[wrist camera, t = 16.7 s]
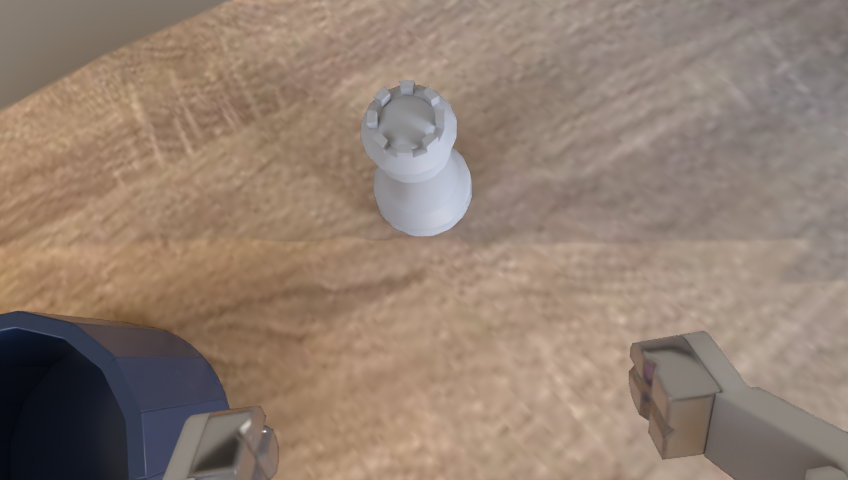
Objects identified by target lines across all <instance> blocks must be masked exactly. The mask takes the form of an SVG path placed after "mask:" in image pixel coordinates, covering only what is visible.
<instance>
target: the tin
mask: <svg viewBox="0 0 848 480" xmlns="http://www.w3.org/2000/svg"><path fill="white" fill-rule="evenodd" d="M222 410H229V406H228V402H227V399H226V396H225V392H224V390H223V388H222V385H221V383H220V381H219V379H218V377H217V375H216V373H215V372H214V370H213V369H212V367H211V365H210V364H209V363H208V362H207V361H206V359H205V358H204V357H203V356H202V355H201V354H200V353H199V352H198V351H197V350H196V349H195V348H194V347H193V346H191V345H190V344H189V343H187V342H186V341H184V340H183V339H181V338H180V337H178V336H176V335H173V334H171V333H169V332H167V331H164V330H161V329H157V328H154V327H148V326H142V325H137V324H133V323H128V322H119V321H110V320H101V319H92V318H83V317H74V316H64V315H55V314H46V313H37V312H28V311H15V312H10V313H5V314H0V480H162V479H163V477H164V474H165V472H166V469H167V467H168V464H169V462H170V459H171V456H172V454H173V451H174V449H175V446H176V444H177V441H178V439H179V436H180V434H181V431H182V429H183V426H184V424H185V422H186V420H187V419H188V418H189V417H190V416H191V415H196V414H204V413H211V412H215V411H222Z"/></svg>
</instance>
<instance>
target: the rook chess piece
mask: <svg viewBox="0 0 848 480" xmlns="http://www.w3.org/2000/svg"><path fill="white" fill-rule="evenodd" d="M399 83H400V86H398V87H395V88H393V89H390V90H387V89H386V87H384V88H383V89H382V90H380V91H379V92H378V93H377V94H376V95H375V96H374V98H375V100H374V101H373V102H372V103H371V104H370V105H369V107H368V109H367V111H366V113H365V115H364V117H363V119H362V124H361V140H362V143H363V145H364V148H365V151H366V153H367V155H368V156H369V157H370V158H371V159H372V160H373V161H374V162H375V163H376V164H377V165H378V167H377V169H376V171H375V174H374V195H375V199H376V202H377V204H378V207H379V209H380V212H381V215H382V216H383V217H384V218H385V219H386V220H387V221H388V222H389V223H390V224H391V225H392V226H393V227H394V228H395V229H397V230H399V231H402V232H404V233H406V234H409V235H411V236H433V235H436V234H438V233H441V232H444V231H446V230H449V229H450V228H452V227H453V226H454V225H455V224H456V223H457V222H458V221H459V220H460V219H461V218H462V217H463V216H464V214H465V212H466V210H467V208H468V205H469V203H470V201H471V198H472V180H471V177H470V172H469V170H468V167H467V165H466V163H465V160H464V158H463V156H461V155H460V154H459V153H458V152H457V151H456V150H455V149H454V148H453V147H452V146H453V144H454V142H455V140H456V137H457V119H456V117H455V115H454V112H453V110H452V108H451V105H450V103H449V102H447V101H446V100H445V99H444V98H443V97H442V96H441V95H440V94H439V93H438V92H437V91H434V90H432V89H431V88H430V87H429V86H428V87H427V88H426V87H423V86H421V85H415V82H414V81H399Z"/></svg>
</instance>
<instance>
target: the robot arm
mask: <svg viewBox="0 0 848 480" xmlns="http://www.w3.org/2000/svg"><path fill="white" fill-rule="evenodd" d="M630 358H631V360H632V361H633V363H634V366H633V367H632V368H631V370H630V371H629V386H630V391H631V396H632V399H633V401H634V404H635V406H636V408H637V410H638V413H639V415H641V416H642V417H644V418H645V419H647V420H649V431H648V433H649V435H650V436H651V438H652V440H653V442H654V444H655V446H656V448H657V450H658V452H659V454H660V456H661V458H662V460H663V459H671V458H679V457H686V456H694V455H702V454H705V455H704V456H705V457H706V458H707V459H709V460H710V461H711V462H712V463H714V464H715V465H716V466H718V467H719V468H720V469H721V470H723V471H724V472H725V473H727V474H728V475H729V476H731V477H732V478H733V479H734V480H848V432H846V431H844V430H842V429H840V428H838V427H836V426H834V425H832V424H830V423H828V422H826V421H824V420H822V419H820V418H818V417H816V416H814V415H812V414H810V413H808V412H806V411H805V410H803V409H801V408H799V407H797V406H795V405H793V404H791V403H789V402H787V401H785V400H783V399H781V398H779V397H777V396H775V395H773V394H771V393H769V392H767V391H765V390H763V389H761V388H759V387H753V388H750V386H749V385H748V384H747V382H746V381H745V380H744V379H743V377H742V376H741V375H740V373H739V372H738V371H737V370H736V368H735V367H734V366H733V364H732V363H731V362H730V361H729V359H728V358H727V357H726V355H725V354H724V353H723V351H722V350H721V349H720V348H719V346H718V345H717V344H716V342H715V341H714V340H713V339H712V337H711V336H710V335H709V334H708V333H707V332H705V331H700V332H694V333H688V334H682V335H679V336H678V335H676V336H670V337H665V338H659V339H653V340H648V341H642V342H636V343H632V346H631V348H630ZM265 419H266V415H265V413H264V411H263V409H262V408H261V406H251V407H244V408H237V409H229V410H222V411H215V412H211V413H204V414H196V415H191V416H190V417H189V418H188V419H187V420H186V422H185V424H184V426H183V429H182V431H181V434H180V436H179V439H178V441H177V444H176V446H175V449H174V451H173V454H172V456H171V459H170V462H169V464H168V467H167V469H166V472H165V474H164V477H163V479H162V480H271V479H272V478H273V477H274V475H275V474H276V473H277V468H278V462H279V447H278V442H277V438H276V435H275V433H274V431H273V429H271V428H269V427H267V426H266V425H264V424H265Z"/></svg>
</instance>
